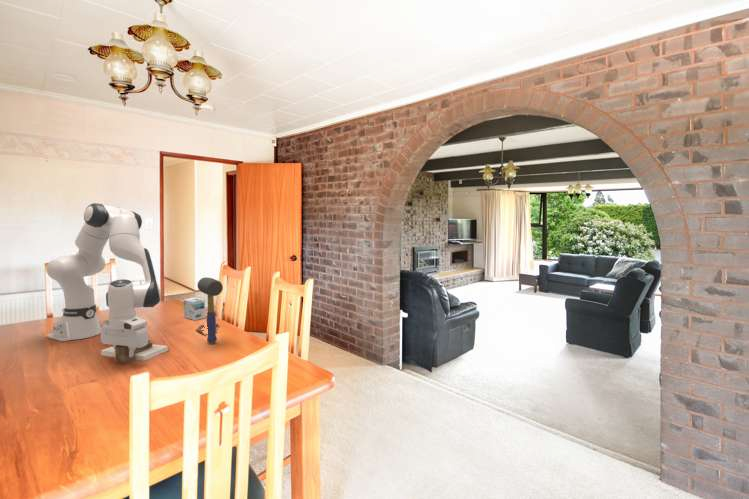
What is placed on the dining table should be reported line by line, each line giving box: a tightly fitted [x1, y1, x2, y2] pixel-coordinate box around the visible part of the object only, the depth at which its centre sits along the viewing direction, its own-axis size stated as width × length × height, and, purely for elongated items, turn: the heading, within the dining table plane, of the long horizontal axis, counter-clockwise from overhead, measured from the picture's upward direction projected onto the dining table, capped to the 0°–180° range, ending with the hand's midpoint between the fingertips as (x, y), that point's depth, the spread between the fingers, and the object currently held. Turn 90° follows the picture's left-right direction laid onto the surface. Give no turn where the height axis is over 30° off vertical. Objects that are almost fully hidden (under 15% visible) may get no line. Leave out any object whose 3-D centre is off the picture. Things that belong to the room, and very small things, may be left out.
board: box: [100, 343, 169, 362], centre depth 158 cm, size 22×12×2 cm, turn 75°
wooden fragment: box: [195, 323, 220, 337], centre depth 192 cm, size 26×11×1 cm, turn 21°
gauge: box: [114, 339, 153, 366], centre depth 152 cm, size 4×14×7 cm, turn 165°
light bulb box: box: [183, 297, 207, 321], centre depth 210 cm, size 11×7×11 cm, turn 58°
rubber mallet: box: [197, 276, 224, 345], centre depth 168 cm, size 12×8×30 cm, turn 46°
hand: (125, 355), depth 147 cm, fingers closed on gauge, 4 cm apart
